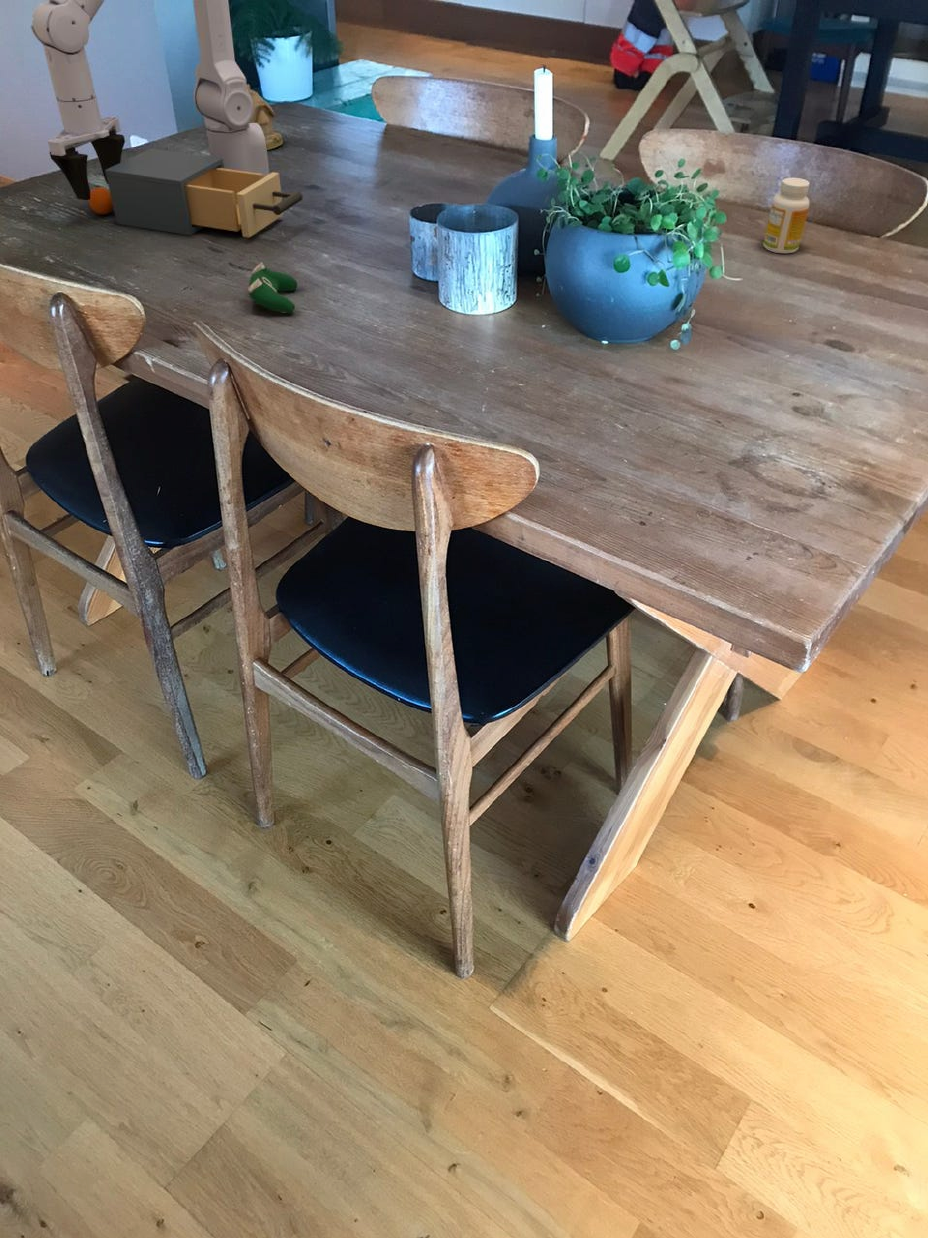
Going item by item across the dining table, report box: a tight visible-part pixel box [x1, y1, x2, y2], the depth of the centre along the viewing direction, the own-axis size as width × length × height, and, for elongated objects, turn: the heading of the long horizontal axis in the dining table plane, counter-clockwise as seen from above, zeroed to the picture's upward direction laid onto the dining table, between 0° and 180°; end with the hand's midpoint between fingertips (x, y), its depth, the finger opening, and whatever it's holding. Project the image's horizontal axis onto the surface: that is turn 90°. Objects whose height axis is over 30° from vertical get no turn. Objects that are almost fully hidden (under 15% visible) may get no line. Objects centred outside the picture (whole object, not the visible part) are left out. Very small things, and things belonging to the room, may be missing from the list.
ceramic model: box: [247, 83, 283, 151], centre depth 178 cm, size 14×11×10 cm
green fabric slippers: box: [247, 261, 298, 315], centre depth 126 cm, size 9×4×6 cm
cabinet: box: [105, 148, 224, 236], centre depth 148 cm, size 14×12×8 cm
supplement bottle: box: [762, 177, 811, 254], centre depth 140 cm, size 5×5×10 cm
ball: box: [87, 186, 114, 215], centre depth 150 cm, size 4×4×4 cm
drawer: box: [184, 167, 303, 238], centre depth 145 cm, size 17×11×6 cm, turn 69°
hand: (99, 191), depth 149 cm, fingers open, 7 cm apart
